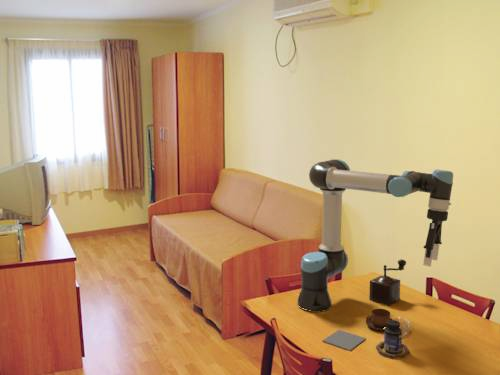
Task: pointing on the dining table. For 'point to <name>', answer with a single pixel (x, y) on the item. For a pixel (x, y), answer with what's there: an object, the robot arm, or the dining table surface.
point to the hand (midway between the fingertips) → (430, 262)
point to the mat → (344, 340)
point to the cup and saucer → (378, 319)
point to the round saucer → (392, 354)
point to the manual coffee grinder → (386, 287)
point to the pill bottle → (393, 337)
